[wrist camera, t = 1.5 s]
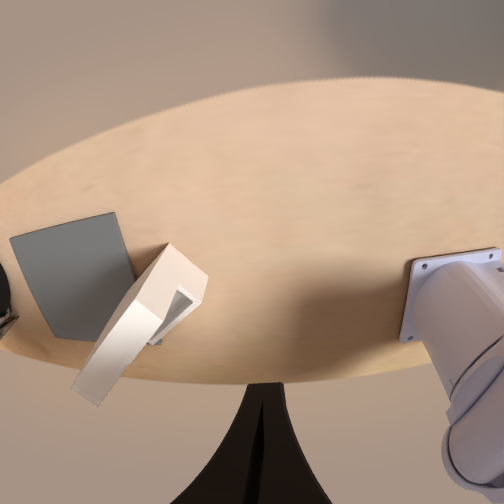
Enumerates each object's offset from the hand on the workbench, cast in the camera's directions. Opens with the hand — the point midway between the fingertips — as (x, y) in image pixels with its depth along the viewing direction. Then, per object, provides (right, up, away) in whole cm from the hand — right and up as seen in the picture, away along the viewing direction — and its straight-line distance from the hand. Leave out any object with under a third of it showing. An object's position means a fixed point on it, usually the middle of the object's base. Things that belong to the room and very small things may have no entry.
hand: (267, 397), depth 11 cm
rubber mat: (-16, +3, +11) cm, 20 cm away
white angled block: (-7, +4, +10) cm, 13 cm away
